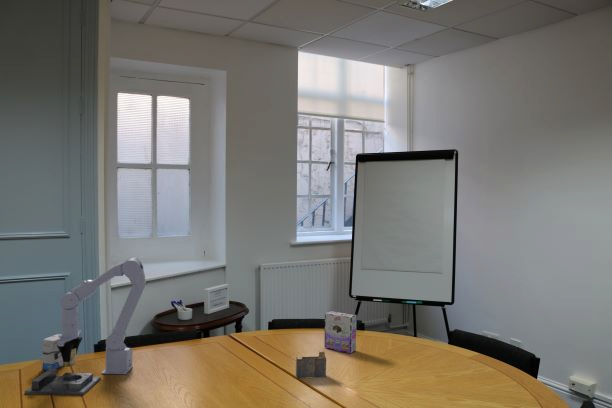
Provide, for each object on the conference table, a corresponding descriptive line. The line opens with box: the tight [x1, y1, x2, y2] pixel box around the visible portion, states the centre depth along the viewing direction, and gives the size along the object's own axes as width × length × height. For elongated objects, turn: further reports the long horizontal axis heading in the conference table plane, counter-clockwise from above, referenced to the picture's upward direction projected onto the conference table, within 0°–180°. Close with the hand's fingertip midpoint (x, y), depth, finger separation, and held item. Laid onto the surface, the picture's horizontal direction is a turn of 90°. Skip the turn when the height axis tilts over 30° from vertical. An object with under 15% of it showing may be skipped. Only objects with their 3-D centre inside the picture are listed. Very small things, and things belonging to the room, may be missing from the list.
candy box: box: [323, 310, 358, 354], centre depth 218 cm, size 14×6×16 cm, turn 58°
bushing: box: [62, 347, 77, 368], centre depth 183 cm, size 4×4×6 cm
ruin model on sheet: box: [295, 350, 327, 379], centre depth 186 cm, size 11×3×10 cm, turn 99°
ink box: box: [41, 333, 64, 371], centre depth 190 cm, size 8×5×12 cm, turn 168°
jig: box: [24, 368, 101, 396], centre depth 171 cm, size 20×14×4 cm
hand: (69, 359), depth 183 cm, fingers closed on bushing, 4 cm apart
